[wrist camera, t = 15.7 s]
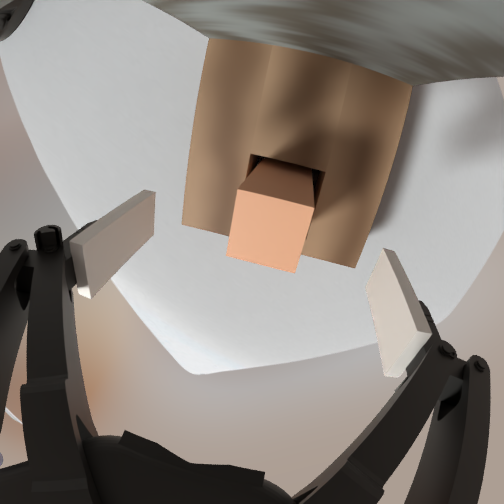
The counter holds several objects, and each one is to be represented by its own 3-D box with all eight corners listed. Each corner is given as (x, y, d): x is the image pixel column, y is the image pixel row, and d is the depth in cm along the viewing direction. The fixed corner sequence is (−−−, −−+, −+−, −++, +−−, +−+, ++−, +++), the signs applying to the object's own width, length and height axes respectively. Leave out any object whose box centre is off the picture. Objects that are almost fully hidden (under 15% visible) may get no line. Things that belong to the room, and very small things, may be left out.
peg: (257, 198, 28) (226, 255, 18) (265, 155, 26) (237, 189, 16) (300, 208, 28) (294, 273, 18) (311, 166, 26) (314, 207, 16)
